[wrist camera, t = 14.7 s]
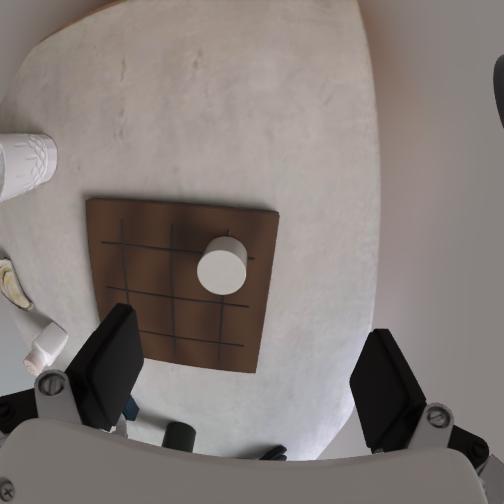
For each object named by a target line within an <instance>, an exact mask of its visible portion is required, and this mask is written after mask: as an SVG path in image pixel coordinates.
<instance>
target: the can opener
mask: <svg viewBox="0 0 504 504" xmlns="http://www.w3.org/2000/svg"><path fill="white" fill-rule="evenodd" d="M286 451H287V449H286V448H285V447H278V448H276V449H274V450H272V451H270V452H269V453H267V454H266V455H264V456H263V457H261V458H260V459H259V460H267V461H286V459H287V457H286V456H285V455H282V454H284V453H285V452H286Z"/></svg>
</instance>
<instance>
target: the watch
mask: <svg viewBox="0 0 504 504" xmlns="http://www.w3.org/2000/svg"><path fill="white" fill-rule="evenodd" d="M138 411H139V408H138V406H137V405H136V403H135V401H134V399H133V398H132V396H131V395H129V397H128V399H127V402H126V404H125V406H124V409H123V411H122V413H121V415H120V418H119V420H118V422H117V425H116V431H113V432H112V433H111V434H114V435H117V436H121V437H124V438H128V434H127V424H126V420H130V421H135V419H136V416H137V414H138ZM121 428H122V429H121ZM99 430H102V429H99ZM102 431H104V430H102Z"/></svg>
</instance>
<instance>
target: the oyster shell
mask: <svg viewBox="0 0 504 504" xmlns="http://www.w3.org/2000/svg"><path fill="white" fill-rule="evenodd" d="M16 276H17V275H16V274H15V269H14V267H13V265H12V264H11V261H10V260H9V259H8V260H7V258H6V257H5V258H4V259H0V290H1V292H2V294H3V295H4V296H5V297H6V298H7V299H8V300H9V301H10V302H12V303H13V304H15V305H16V306H18V307H19V308H20V309H23V310H25V311H31V310H32V309H34V304H33V303H30V302H29V300H28V299H27V298H26V296H25V295H24V293H23V291H22V289H21V287H20V285H19V281H18V279H17V278H16Z"/></svg>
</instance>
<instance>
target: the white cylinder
mask: <svg viewBox="0 0 504 504" xmlns="http://www.w3.org/2000/svg"><path fill="white" fill-rule="evenodd" d="M246 270H247V251H246V249H245V247H244V246H243V244H242V243H241V242H239V241H238V240H236V239H234V238H232V237H227V236H223V237H218V238H215V239H213V240H212V241H211V242H210V243H209V244H208V245H207V247H206V249H205V251H204V253H203V255H202V257H201V259H200V261H199V263H198V267H197V275H198V279H199V281H200V283H201V284H202V285H203V286H204V287H205V288H206V289H207V290H208V291H210V292H212V293H215V294H220V295H226V294H231V293H233V292H235V291H237V290H238V289H239V288H240V287H241V286H242V285H243V283H244V281H245V278H246Z"/></svg>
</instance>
